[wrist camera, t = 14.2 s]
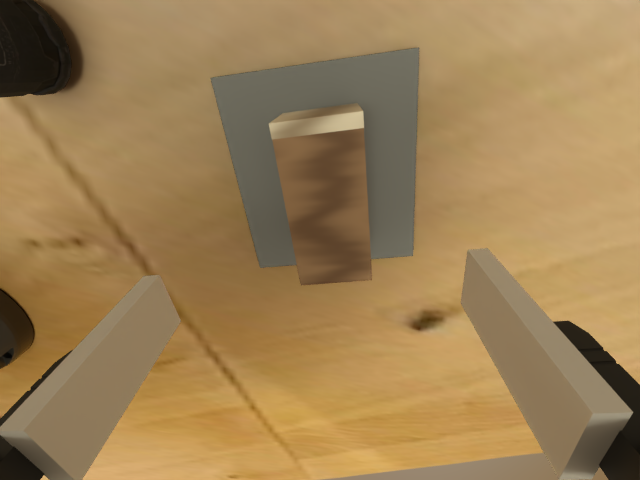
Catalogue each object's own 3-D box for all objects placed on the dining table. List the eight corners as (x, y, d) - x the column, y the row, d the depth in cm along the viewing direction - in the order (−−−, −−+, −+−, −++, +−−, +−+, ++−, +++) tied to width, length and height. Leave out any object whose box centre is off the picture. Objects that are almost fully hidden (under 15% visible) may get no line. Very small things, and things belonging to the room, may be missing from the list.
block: (300, 285, 25) (268, 123, 19) (306, 249, 31) (283, 113, 24) (372, 280, 25) (363, 111, 19) (366, 243, 30) (357, 102, 24)
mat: (261, 264, 33) (260, 267, 32) (213, 77, 24) (210, 77, 23) (411, 252, 31) (413, 255, 30) (417, 48, 22) (419, 47, 22)
